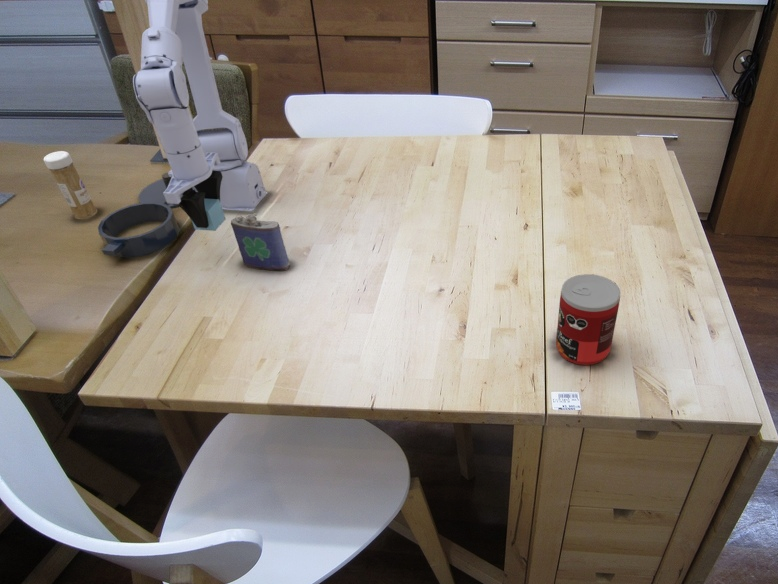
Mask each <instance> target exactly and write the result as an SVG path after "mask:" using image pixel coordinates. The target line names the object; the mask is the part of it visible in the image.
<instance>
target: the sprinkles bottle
mask: <svg viewBox="0 0 778 584" xmlns="http://www.w3.org/2000/svg"><path fill="white" fill-rule="evenodd" d="M43 162H44V164H45V166H46V168H47V169H48V170H49V171H50V173H51V175H52V176H53V179H54V180H55V183H56V185H57V187H58V188H59V190H60V192H61V194H62V196H63V198H64V200H65V202H66V203H67V205H68V207H69V208H70V210H71V211H72V213H73V216H74V219H77V220H85V219H89V218H92V217H93V216H95V215H96V214H97V213H98V209H97V208H96V206H95V205H94V202H93V200H92V198H91V195H90V193H89V191H88V190H87V188H86V185H85V184H84V182H83V180H82V178H81V177H80V175H79V173H78V171H77V169H76V167H75V165H74V162H73V159H72V157H71V154H70V153H69V152H68V151H64V150H58V151H53V152H50V153H48V154H46V155H45V156H44V157H43Z"/></svg>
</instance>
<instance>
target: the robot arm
mask: <svg viewBox="0 0 778 584" xmlns="http://www.w3.org/2000/svg"><path fill="white" fill-rule="evenodd" d="M143 1H144V2H145V4H146V5H147V14H148V15H147V16H148V25H149V28H147V29H145V30H144V31H143V32H142V35H141V47H140V48H141V50H140V51H141V52H140V69H139V70H138V71H137V72H136V73H135V74H133V77H132V87H133V91H134V95H135V99H136V101H137V103H138V105H139V106H140V108H141V109H142V111H143V112H144V113H145V115H146V117H147V120H148V121H149V123H150V124H153V127H154V129H155V132H156V134H157V136H158V139H159V142H160V144H161V147H162V149H163V151H164V154H165V157H166V160H167V162H168V166H169V167H170V170H169V171H168V172H167V173H168V174H169V177H172V178H171V180H170V183H169V185H168V187H167V189H166V190H165V191H164V192H163V194H164V196H165V199H166V201H167V203H170V204H177V205H178V206H179V207H178V208H181V210H183V212H185V214H186V215H187V216H188V217H189V219H190V221H191V220H192V221H193V223H194V224H195V225H196V227H198V228H207V227H208V226H209V223H208V217H207V214H206V210H205V203H204V198H205V199H219V201H220V204H221V207H222V209H223V210H230V211H244V212H245V211H247V212H254V210H255V209H256V208H257V206H258V205H259V204H260V203H261V202H262V200H263V199H264V198H265V197H266V196H267V194H268V193H269V192H268V191H266V189H265V185H264V181H263V177H262V174H261V171H260V168H259V166H258V165H257V164H256V163H254V162H249V161H247V157H248V155H249V149H248V143H247V139H246V135H245V133H244V130H243V127H242V123H241V122H240V120H239V119H238V118H237V117H236V116H233V115H232V114H230V113H228V112H226V111H225V110H223V107H222V102H221V99H220V94H219V90H218V86H217V82H216V77H215V74H214V70H213V65H212V62H211V57H210V53H209V48H208V44H207V41H206V37H205V36H206V35H205V32H204V28H203V18H202V17H203V16H202V15H203V14H205V13H206V12H207V11H208V10H209V5H208V4H209V0H143ZM183 64H184V65H183ZM183 66H184V68H185V72H186V75H185V72H184V71H183ZM186 76H187V78H186ZM187 80H188V84H189V88H190V92H191V95H192V99H193V104H194V108H195V111H196V116H195V117H192V114H191V111H190V108H189V103H190V95H189V91H188V89H189V88H188V85H187ZM213 129H214V130H213ZM193 186H194V187H195V188H196V190H197V191H198V192H196V191H195V190H193V188H192V187H193ZM192 221H191V222H192ZM193 223H192V224H193Z"/></svg>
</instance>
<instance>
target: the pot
mask: <svg viewBox="0 0 778 584" xmlns="http://www.w3.org/2000/svg"><path fill="white" fill-rule="evenodd" d="M169 204H170V203H167V201H166V199H161V198H158V199H157V200H156V201H155V202H144V203H140V202H139V203H134V204H130V205H126V206H124V207H121V208H118V209H117V210H115V211H112V212H111V213H109V214H108V215H107V216H105V217H104V218H103V219H102V220H101V221H100V223H98V226H97V230H98V235H99V236H100V239H101V240H102V243H103V244H104V246H105V247H104V248H102V249H101V252H102V253H103V255H104V256H115V257H118V258H125V259H131V258H138V257H139V258H140V257H144V256H149V255H151V254H154V253H155V252H159V251H161V250H163V249H164V248H166V247H168V246H169V245H171V244H172V243H173V242H174V241H175V240H176V239H177V238H178V237H179V234H180V226H179V225H178V222H177V220H176V217H175V215H174V213H173V209H172V208H170V207H169V206H168V205H169ZM149 222H162V223H161V224H160V225H158V226H156V227H155V228H153V229H151V230H149V231H146V232H143V233H141V234H137V235H132V236H123V237H122V236H121V237H118V235H119V234H120V233H121V232H123V231H125V230H126V229H129V228H131V227H135V226H136V225H139V224H144V223H149Z"/></svg>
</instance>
